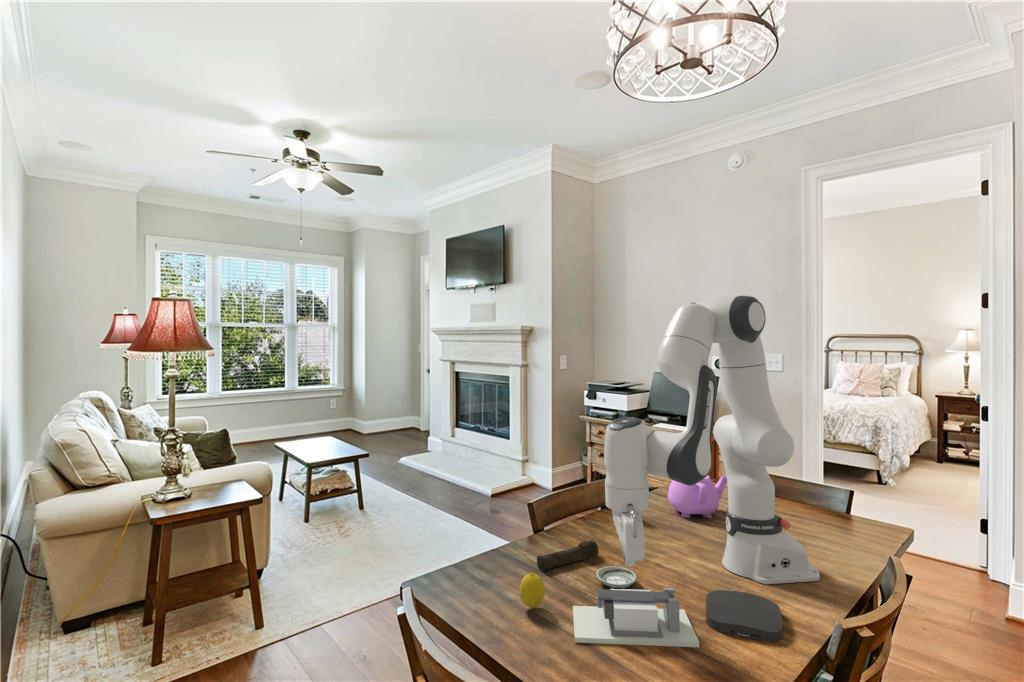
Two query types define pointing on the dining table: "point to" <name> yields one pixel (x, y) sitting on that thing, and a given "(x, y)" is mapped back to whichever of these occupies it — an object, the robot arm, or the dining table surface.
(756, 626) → the media streaming box
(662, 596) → the strap
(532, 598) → the lemon
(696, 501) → the teapot
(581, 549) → the dark brown long bar
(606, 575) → the saucer
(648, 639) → the board
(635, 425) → the robot arm
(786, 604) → the dining table surface
